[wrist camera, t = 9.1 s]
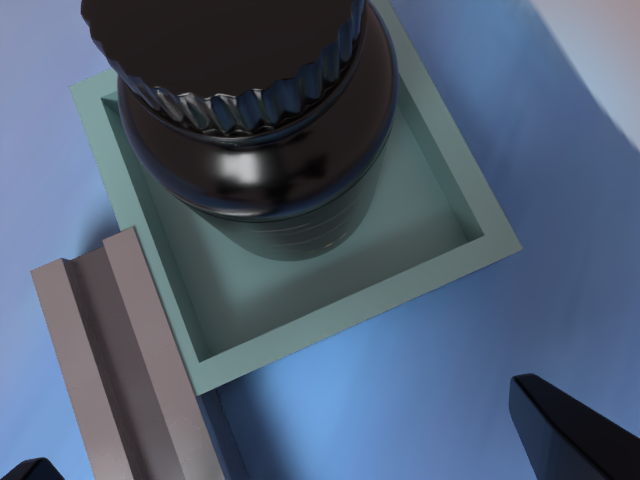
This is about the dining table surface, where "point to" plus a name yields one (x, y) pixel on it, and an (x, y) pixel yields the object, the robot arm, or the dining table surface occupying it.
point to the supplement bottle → (256, 111)
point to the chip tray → (317, 273)
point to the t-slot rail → (130, 371)
